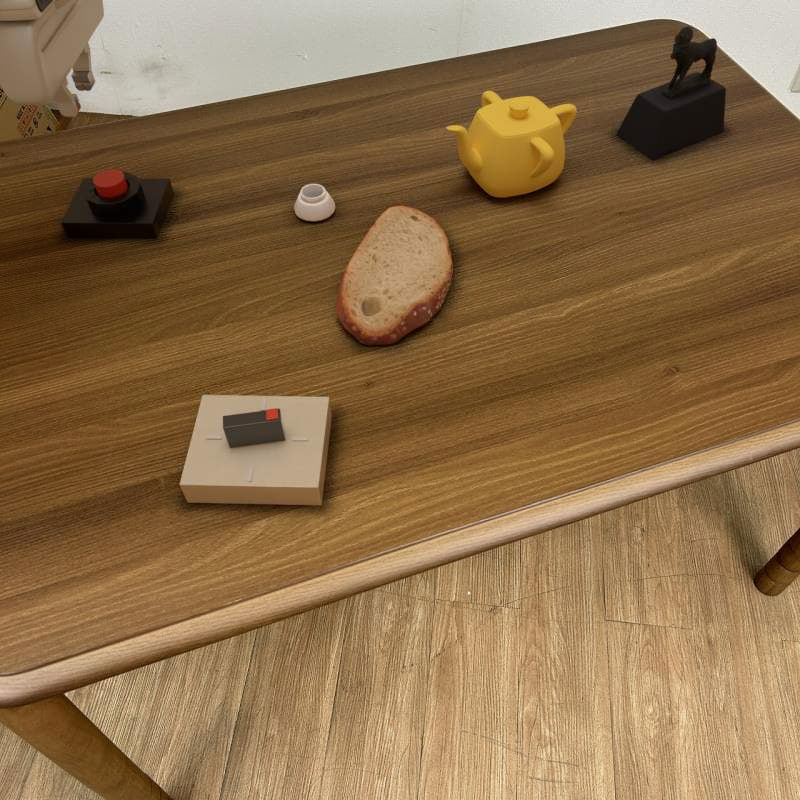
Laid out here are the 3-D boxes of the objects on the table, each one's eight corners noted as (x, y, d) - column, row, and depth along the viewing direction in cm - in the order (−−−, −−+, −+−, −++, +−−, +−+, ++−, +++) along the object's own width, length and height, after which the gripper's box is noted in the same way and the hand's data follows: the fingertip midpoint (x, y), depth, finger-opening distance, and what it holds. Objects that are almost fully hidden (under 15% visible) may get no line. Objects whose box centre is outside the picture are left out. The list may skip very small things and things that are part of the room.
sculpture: (612, 132, 102) (638, 20, 90) (686, 106, 106) (720, -4, 94) (651, 161, 98) (683, 47, 86) (727, 133, 102) (767, 20, 90)
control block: (67, 237, 90) (54, 210, 87) (89, 192, 95) (78, 165, 92) (157, 238, 89) (147, 210, 86) (174, 193, 95) (165, 165, 92)
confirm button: (94, 199, 88) (89, 186, 87) (102, 181, 91) (97, 168, 89) (123, 199, 88) (119, 187, 87) (131, 181, 91) (127, 169, 89)
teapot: (541, 222, 90) (553, 147, 82) (442, 198, 93) (445, 122, 85) (571, 162, 98) (586, 88, 90) (479, 141, 101) (485, 68, 93)
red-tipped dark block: (229, 448, 66) (222, 426, 63) (229, 435, 67) (221, 413, 64) (285, 440, 66) (280, 418, 64) (284, 428, 67) (279, 406, 65)
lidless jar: (330, 225, 90) (338, 200, 93) (328, 205, 88) (337, 180, 91) (290, 222, 91) (300, 197, 94) (287, 201, 89) (297, 177, 92)
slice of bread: (412, 209, 92) (412, 183, 89) (503, 291, 83) (506, 265, 80) (284, 263, 86) (279, 238, 83) (366, 359, 76) (364, 333, 74)
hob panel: (187, 502, 66) (178, 483, 64) (209, 414, 72) (202, 393, 70) (321, 505, 66) (318, 486, 63) (331, 416, 72) (329, 395, 69)
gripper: (32, -80, 76) (79, 53, 87) (-50, 9, 64) (18, 152, 74) (93, -81, 76) (133, 53, 87) (23, 9, 63) (80, 153, 74)
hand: (79, 100), depth 81 cm, fingers open, 4 cm apart
